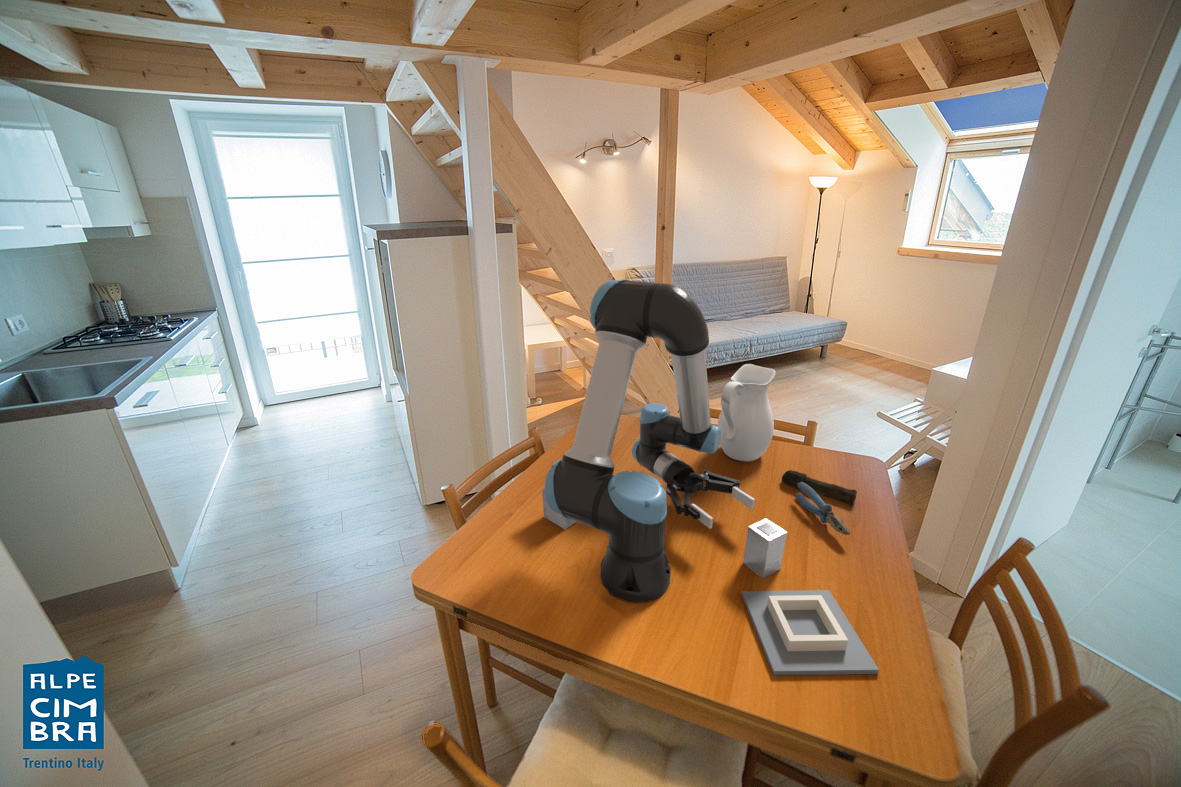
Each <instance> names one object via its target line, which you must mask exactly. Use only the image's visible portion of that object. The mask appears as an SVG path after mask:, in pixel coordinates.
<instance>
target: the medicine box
mask: <svg viewBox="0 0 1181 787" xmlns="http://www.w3.org/2000/svg"><path fill="white" fill-rule="evenodd" d="M541 492H542V494H541V495H542V507H543V508H542V509H543V517H544V518H545V519H547V520H548V521H550V522H551V523H553V524H555V525H557V526H558V527H560V528H561V529H563V530H567V529H568V528H570V527H571V526H573V525H574V524H576V523H577V521H575V520H572V519H568V518H565V517H563V516H562V515H560V514H558V513H556V512H554V511H553V510H551V509H550V507H549V506H548V503H547V501H546V499H545V491H544V488H543V489H542V490H541Z"/></svg>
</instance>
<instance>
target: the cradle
mask: <svg viewBox="0 0 1181 787" xmlns="http://www.w3.org/2000/svg"><path fill="white" fill-rule="evenodd" d="M741 598H742V601H743V602H744V605H745V607H746V610H747V613H748V615H749V618H750V620H751V623H752V625H753V628H754V630H755V632H756V635H757V638H758V640H759V642H760V645H761V648H762V651H763V653H764V655H765V658H766V660H767V663H768V665H769V668H770V671H771V673H772V676H805V675H806V676H809V675H811V676H814V675H816V676H817V675H818V676H819V675H821V676H823V675H829V676H830V675H878V674H879V671H880V668H879V667H878V665H877V664H876V662H875V660H874V659H873V658H872V656H871V655H870V653H869V651H868V650H867V648H866V646H865V644H863V642H862V640H861V639H860V636H859V635H858V633H857V631H855V629H854V628H853V626H852V624H851V623H850V620H848V618H847V616H846V615H845V613H844V611H843V610H842V609H841V606H840V605H839V604H838V602H837V599H836V598H835V597H834V596H833V594H832V592H831V590H830V589H818V590H816V589H814V590H813V589H810V590H807V589H805V590H804V589H803V590H742V591H741Z"/></svg>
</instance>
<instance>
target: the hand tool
mask: <svg viewBox="0 0 1181 787" xmlns="http://www.w3.org/2000/svg"><path fill="white" fill-rule="evenodd" d="M781 482H782V483H783V484H786V485H788V486H790V487H793V488H794V489H798V490H801V489H799V488H798V486H797V484H798V483H800V482H803V483H805V484H807V485H809V486H810V487H811V488H812V489H813V490H814V491H815V492H816V493H817V494H820V495H822V496H823V495H824V496H827V497H829V498H832V499H836V500H839V501H841V502H846V503H848V504H849V505H850V506H851V507H852V506H853V505H854V503H855V501H856V499H857V490H856V489H850V488H846V487H843V486H840V485H836V484H835V483H829V482H828V483H827V482H825V481H821V480H818V479H814V478H812V477H809V476H807V474H806V473H803V472H799V471H797V470H791V469H790V470H786V471H785V472H784V473H783V474H782V476H781ZM801 491H802V490H801Z"/></svg>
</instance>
